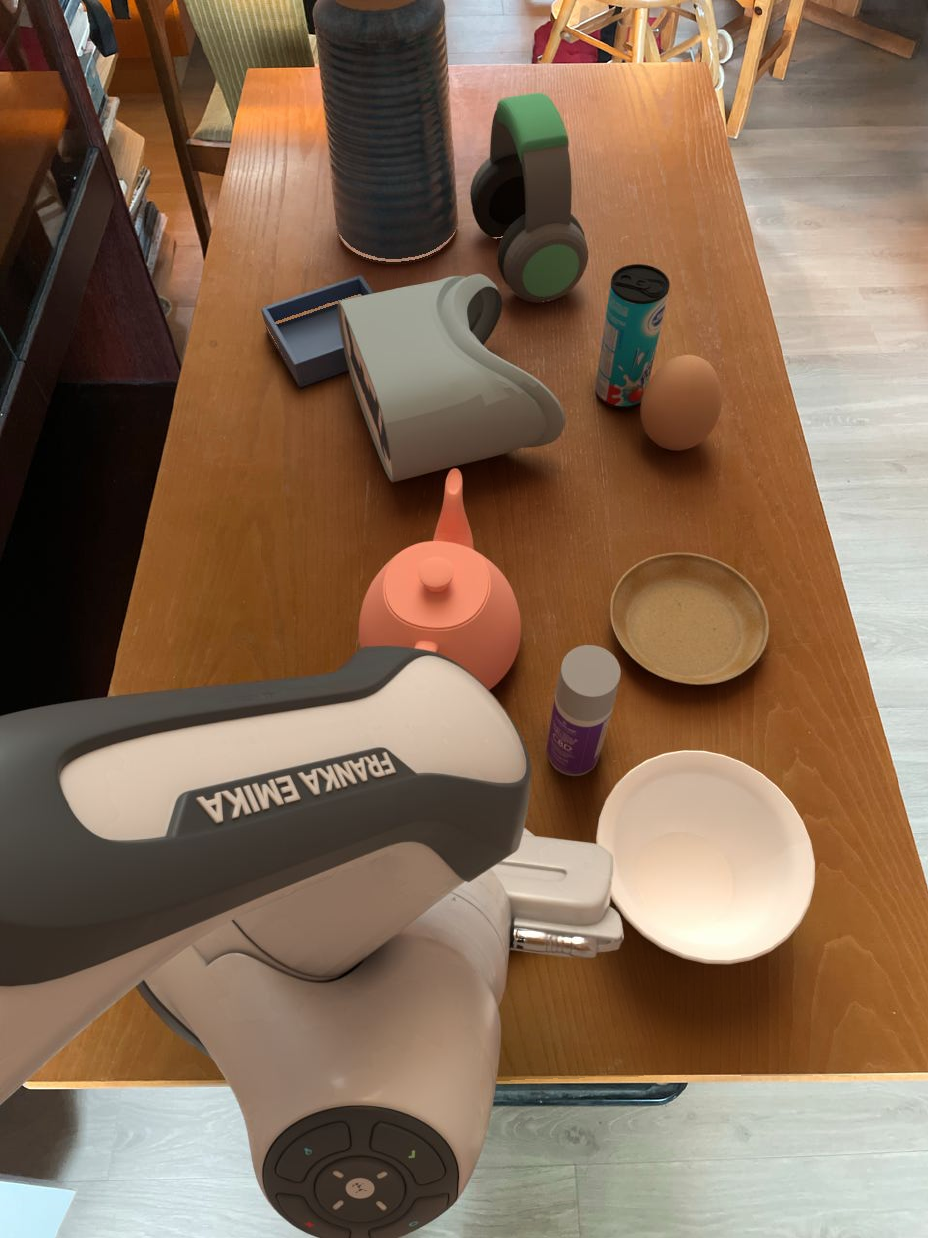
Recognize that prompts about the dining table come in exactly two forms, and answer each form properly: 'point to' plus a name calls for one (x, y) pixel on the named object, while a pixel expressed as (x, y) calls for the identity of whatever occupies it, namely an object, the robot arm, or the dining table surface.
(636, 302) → the beverage can
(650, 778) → the bowl
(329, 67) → the vase
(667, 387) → the egg
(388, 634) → the teapot
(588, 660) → the container
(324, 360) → the blue tray
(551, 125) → the headphones
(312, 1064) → the robot arm
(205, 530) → the dining table surface
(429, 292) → the virtual reality goggles
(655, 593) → the plant saucer
